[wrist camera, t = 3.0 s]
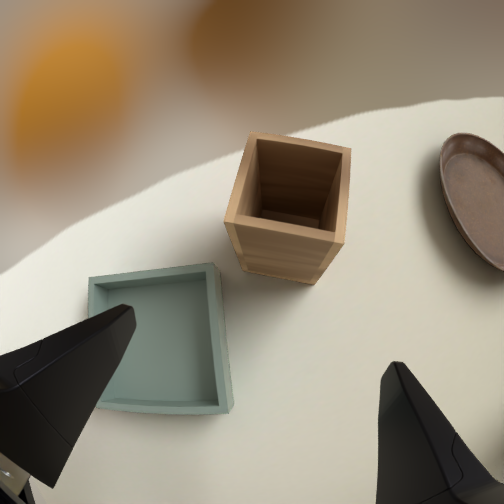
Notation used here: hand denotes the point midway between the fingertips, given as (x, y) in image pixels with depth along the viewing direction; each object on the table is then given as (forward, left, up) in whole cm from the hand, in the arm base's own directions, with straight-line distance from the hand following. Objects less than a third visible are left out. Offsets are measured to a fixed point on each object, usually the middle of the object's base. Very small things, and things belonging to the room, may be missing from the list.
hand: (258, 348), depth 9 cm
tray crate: (-8, +4, -13) cm, 16 cm away
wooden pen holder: (+5, +7, -14) cm, 16 cm away
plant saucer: (+29, 0, -14) cm, 32 cm away
